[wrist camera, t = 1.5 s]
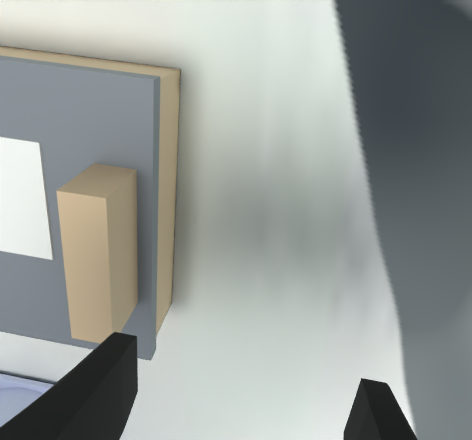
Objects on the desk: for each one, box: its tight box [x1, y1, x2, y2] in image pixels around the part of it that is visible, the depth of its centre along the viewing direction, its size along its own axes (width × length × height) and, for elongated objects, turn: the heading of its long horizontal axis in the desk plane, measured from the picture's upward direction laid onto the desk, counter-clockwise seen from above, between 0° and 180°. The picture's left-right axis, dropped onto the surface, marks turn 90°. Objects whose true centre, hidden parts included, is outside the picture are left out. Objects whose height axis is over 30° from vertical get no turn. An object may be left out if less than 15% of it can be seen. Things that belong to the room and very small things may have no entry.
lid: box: [0, 55, 160, 360], centre depth 16 cm, size 12×10×3 cm
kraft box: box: [0, 46, 181, 335], centre depth 19 cm, size 12×10×3 cm
